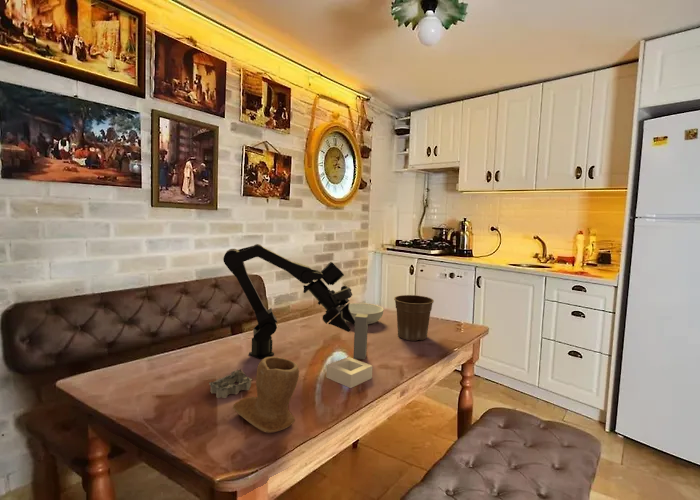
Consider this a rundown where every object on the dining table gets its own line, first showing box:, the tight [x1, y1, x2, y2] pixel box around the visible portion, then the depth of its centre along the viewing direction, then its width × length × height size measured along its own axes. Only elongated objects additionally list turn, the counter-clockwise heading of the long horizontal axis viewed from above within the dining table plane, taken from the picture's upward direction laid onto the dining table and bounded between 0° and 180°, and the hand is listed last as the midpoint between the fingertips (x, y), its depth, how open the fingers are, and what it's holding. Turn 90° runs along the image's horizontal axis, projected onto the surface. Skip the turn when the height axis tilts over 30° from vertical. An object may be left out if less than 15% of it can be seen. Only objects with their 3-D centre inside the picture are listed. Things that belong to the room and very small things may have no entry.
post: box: [352, 314, 369, 360], centre depth 138 cm, size 4×4×15 cm
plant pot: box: [393, 294, 435, 342], centre depth 163 cm, size 16×16×16 cm
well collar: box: [325, 356, 373, 389], centre depth 120 cm, size 10×10×4 cm
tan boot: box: [232, 356, 300, 433], centre depth 94 cm, size 15×12×15 cm
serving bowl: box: [344, 302, 384, 325], centre depth 182 cm, size 21×21×7 cm
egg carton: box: [208, 368, 253, 399], centre depth 109 cm, size 11×8×4 cm
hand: (352, 327), depth 138 cm, fingers open, 9 cm apart
